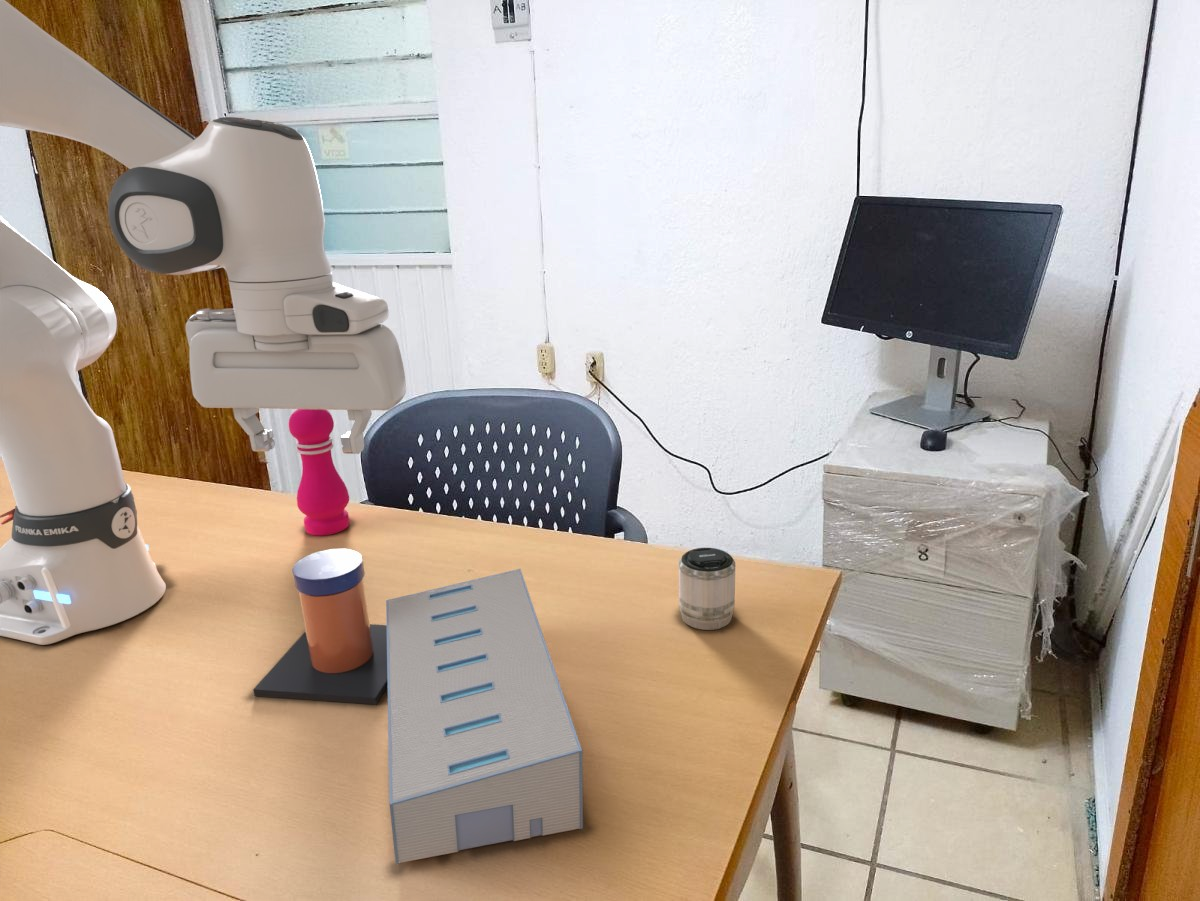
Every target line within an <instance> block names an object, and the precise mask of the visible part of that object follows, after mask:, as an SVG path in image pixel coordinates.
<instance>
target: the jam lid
mask: <svg viewBox="0 0 1200 901" xmlns="http://www.w3.org/2000/svg"><path fill="white" fill-rule="evenodd" d="M291 570H292V576H293V581H294V587H295V589H296V590H297V591H298V593H299V592H301V593H303V594H307V595H314V596H322V595H330V594H335V593H339V592H342V591H345V590H348V589H350V588H352V587H354V586H355V585H357V584H358V583H359V582H360V581H362V579H363V580H364V577H365V575H366V574H365V573H366V572H365V565H364V560H363V556H362V554H361V553H360V552H359V551H357V550H355V549H350V548H330V549H329V548H328V549H324V550H319V551H316V552H313V553H310V554H308V555H305V556H303V557H302V558H300V559H299V560H297V561H296V562H295V563H294V564H293V566H292V569H291Z"/></svg>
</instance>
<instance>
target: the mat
mask: <svg viewBox="0 0 1200 901" xmlns="http://www.w3.org/2000/svg"><path fill="white" fill-rule="evenodd" d="M370 629H371V636H372V643H373V650H374V651H373V654H372V656H371V658H370V659H369V660H368V661H367V662H366V663H364V664H363V665H361V666H360V667H358V668H355V669H353V670H350V671H346V672H342V673H324V672H320V671H318V670H316V669H315V668H314V667H313V666H312V664H311V659H310V653H309V647H308V642H307V636H306V630H305V631H304V632H303V633H302V635H301V636H300V637H298V639H297V640H296V641H295V642H294V643H293V644H292V645H291V646H290V648H289V649H288V650H287V651H286V652H285V654H283V655H282V657H281V658H280V659H279V660H278V661H277V662H276V663H275V664H274V666H273V667H272V668H270V670H269V671H268V672H267V673H266V675H265V676H264V677H263V678H262V679H261V680H260V681H259V683H257V684H256V686H255V687H254V688H253V689H252V692H253V695H254V697H263V698H278V699H290V700H291V699H292V700H306V701H319V702H320V701H321V702H335V703H347V704H363V705H378V703H379V701H380V700H381V699H382V697H383V695H384V694H385V692H386V691H387V690H388V681H387V624H372V623H370Z"/></svg>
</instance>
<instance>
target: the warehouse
mask: <svg viewBox="0 0 1200 901" xmlns="http://www.w3.org/2000/svg"><path fill="white" fill-rule="evenodd" d="M522 572H523V571H522V569H521V568H517V569H514V570H509V571H504V572H500V573H497V574H492V575H487V576H484V577H479V578H474V579H471V580H466V581H463V582H459V583H454V584H449V585H445V586H441V587H437V588H433V589H428V590H424V591H419V592H416V593H412V594H407V595H404V596H403V595H402V596H398V597H394V598H391V599H387V600H385V604H386V605H385V607H386V608H385V610H386V611H385V612H386V615H385V616H386V619H385V620H386V625H387V681H388V688H387V734H388V735H387V737H388V793H389V794H388V796H389V797H388V799H389V802H388V804H389V813H390V822H391V823H390V824H391V832H392V840H393V841H392V842H393V850H394V851H393V852H394V860H395V865H399V864H400V863H401V864H402V863H407V862H411V861H416V860H422V859H426V858H433V857H437V856H442V855H448V854H454V853H459V851H462V850H468V849H473V848H478V847H483V846H488V845H493V844H499V843H504V842H509V841H510V842H511V841H513V843H514V842H517V841H521V840H527V839H532V838H534V837H538V836H542V837H543V836H547V835H553V834H558V833H563V832H569V831H574V830H583V829H584V810H583V809H584V798H583V797H584V796H583V795H584V792H583V789H584V784H583V782H584V781H583V780H584V779H583V778H584V776H583V772H584V771H583V769H584V768H583V767H584V766H583V749H582V746H581V743H580V740H579V738H578V734H577V731H576V728H575V725H574V723H573V719H572V716H571V713H570V710H569V708H568V705H567V702H566V699H565V697H564V693H563V689H562V687H561V684H560V681H559V679H558V675H557V672H556V669H555V667H554V663H553V661H552V658H551V654H550V652H549V648H548V646H547V643H546V640H545V637H544V635H543V631H542V629H541V626H540V623H539V618H538V616H537V613H536V611H535V608H534V604H533V602H532V598H531V596H530V593H529V590H528V588H527V584H526V581H525V578H524V575H523V573H522Z"/></svg>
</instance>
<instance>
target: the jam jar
mask: <svg viewBox="0 0 1200 901" xmlns="http://www.w3.org/2000/svg"><path fill="white" fill-rule="evenodd" d="M298 595H299V596H298V597H299V602H300V608H301V613H302V618H303V626H304V630H305V631H306V636H307V642H308V647H309V653H310V659H311V664H312V666H313V667H314V668H315V669H316V670H318V671H320V672H324V673H342V672H346V671H350V670H353V669H355V668H358V667H360V666H361V665H363V664H364V663H366V662H367V661H368V660H369V659H370V658H371V656H372V654H373V651H374V650H373V643H372V636H371V629H370V624H371V622H370V616H369V609H368V602H367V596H366V589H365V581H364V578H363V579H362V581H360V582H359V583H358V584H357V585H355V586H354V587H352V588H350V589H348V590H345V591H342V592H339V593H335V594H330V595H322V596H314V595H307V594H303V593H301V592H299V591H298Z"/></svg>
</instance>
